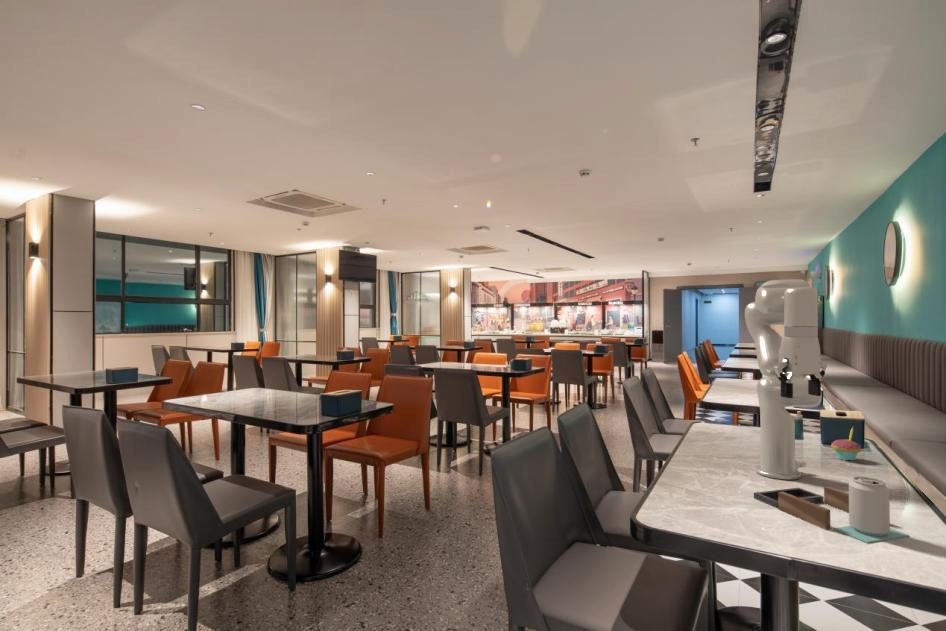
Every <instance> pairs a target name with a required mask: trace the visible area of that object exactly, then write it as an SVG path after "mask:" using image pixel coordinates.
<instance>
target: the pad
mask: <svg viewBox="0 0 946 631" xmlns="http://www.w3.org/2000/svg"><path fill="white" fill-rule="evenodd" d="M833 530H834V531H837V532H839V533H841V534H844V535H846V536H847V537H848V536H849V537H850V538H854V539H856V540H858V541H859V542H860V541H861V542H863V543H866V544H871V543H876V542H883V541H889V540H895V539H903V538H907V537H910V535H909V534H907V533H905V532H902V531H899V530H897V529H894V528H892V527H890V532H889V533H887V534H886V535H884V536H873V535H868V534H864V533H861V532H858V531H856V530H855V529H854V528H853V527H852V526H851V525H848V526H840V527H834V528H833Z"/></svg>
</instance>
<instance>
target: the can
mask: <svg viewBox="0 0 946 631" xmlns="http://www.w3.org/2000/svg"><path fill="white" fill-rule="evenodd" d="M886 484H887V483H886V482H885V481H883V480H882V479H878V478H876V477H875V478H874V477H872V476H871V477H869V476H857V475H856V476H853V477H851V481H849V483H848V493H849V513H848V524H849V526H852V527H853V528H854V529H855V530H856V531H858V532H861V533H864V534H868V535H873V536H884V535H886V534H887V533H889V532H890V528H891V526H890V525H891V521H890V520H891V519H890V515H891V514H890V508H891V507H890V488H888V487H887V486H886Z"/></svg>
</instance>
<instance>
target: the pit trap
mask: <svg viewBox="0 0 946 631" xmlns="http://www.w3.org/2000/svg"><path fill="white" fill-rule="evenodd" d="M778 492H785V493H787V494H790V495H793V496H795V497H798V498H800V499H803V500H806V501H808V502H811V503H813V504H817V503H816V502H819V503H824V495H821V494H817V493H815V492H812V491H810V490H807V489H804V488H801V487H794V488H793V487H792V488H784V489H782V488H781V489H776V490H767V491H765V490H764V491H757V492H753V499H754V500H757V501H760V502H762V503H765V504H767V505H770V506H772V507H774V508H776V509H777V508H778Z"/></svg>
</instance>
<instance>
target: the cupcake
mask: <svg viewBox="0 0 946 631" xmlns="http://www.w3.org/2000/svg"><path fill="white" fill-rule="evenodd" d="M853 433H854V426H852V428H850V432H849V436H848V437H849V439H847V438H846V439H845V438H844V439H842V438H841V439H836V440H834V441H832V442H831V445H830V447H831V449H834V451H835V453H836V457H837V459H838V458H840V459H845V460H855V461H856V458H857V455H858V453H860V452H862V447H861V445H860V444H858V443H857V442H856V441H854V440H852V438H853ZM840 459H839V460H840Z"/></svg>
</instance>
